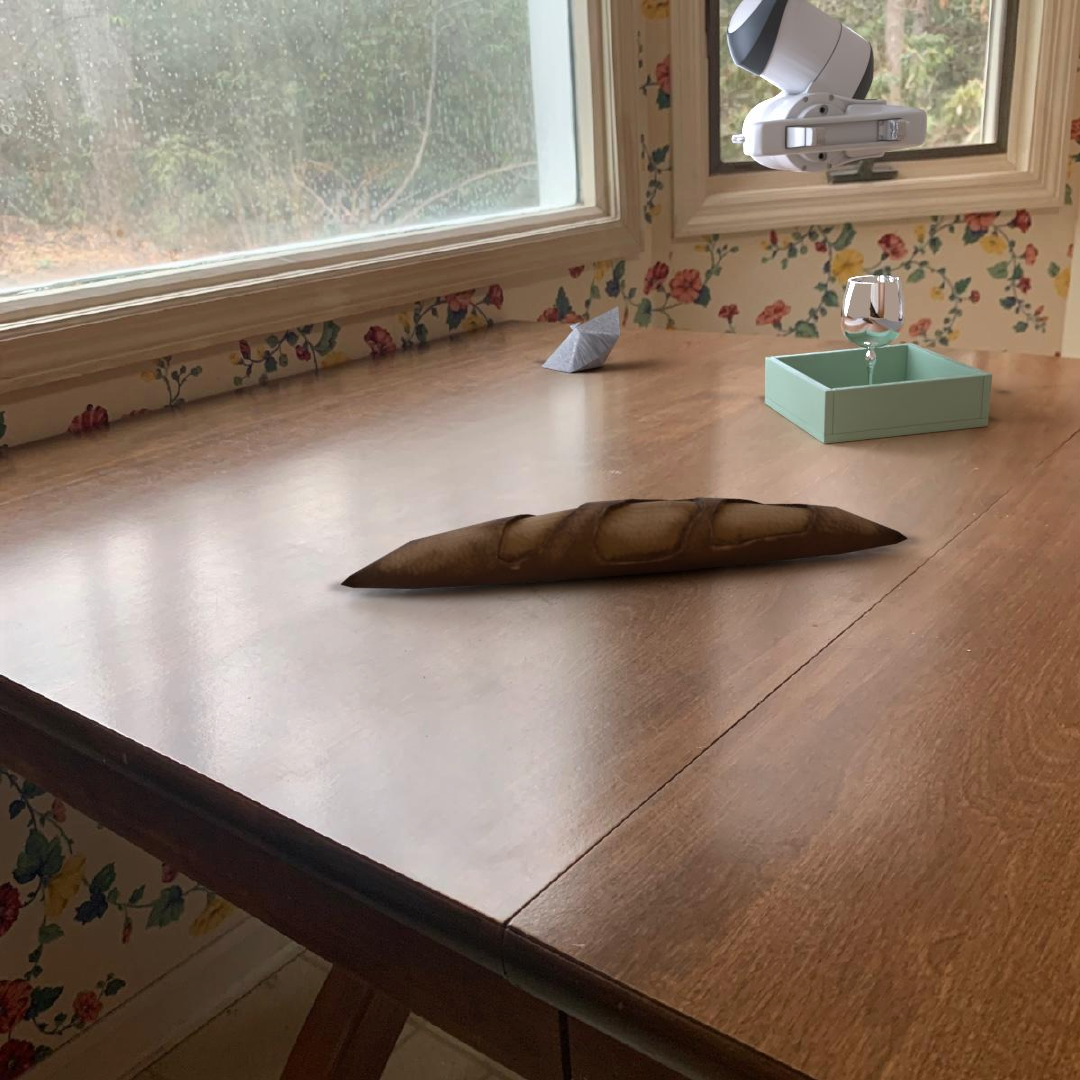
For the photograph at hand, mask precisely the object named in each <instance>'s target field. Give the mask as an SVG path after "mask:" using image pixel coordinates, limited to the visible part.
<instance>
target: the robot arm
mask: <svg viewBox="0 0 1080 1080" xmlns="http://www.w3.org/2000/svg"><path fill="white" fill-rule="evenodd" d="M726 39H727V46H728V49H729V50H728V51H729V53H730V56H731V59H732V60H733V63H734V65H735V66H737V67H739V68H741V69H743V70H745V71H747V72H749V73H751V74H753V75H755V76H757V77H761V78H763V79H764V80H766V81H767V82H769V83H770V84H772V85H773V86H775V87H777V88H778V89H780V90H781V91H780V92H779V93H778V94H777V95H775V96H774V97H772V98H769V99H767V100H766V99H765V100H764V101H762V102H760V103H758V104H757V105H756V106H754V107H753V108H752V109H751V110H750V111H749V112H748V114H747V115H746V117H745V119H744V122H743V126H742V133H741V134H736V135H735V134H734V135H732V137H731V141H732V143H733V144H743V153H744V154H745V155H746V156H750V158H752V159H753V160H754V161H755V162H757V163H758V164H760V165H762V166H764V167H767V168H769V169H774V170H779V171H790V172H791V171H792V172H796V173H807V174H808V173H809V174H819V173H822V172H826V171H828V170H830V169H834V168H837V167H840V166H843V165H846V164H849V163H854V162H859V161H865V160H873V159H875V158H881V157H884V156H885V153H889V152H893V151H899V150H904V149H910V148H915V147H919V146H921V145H923V144H924V143H925V142H926V137H927V130H928V116H927V115H928V114H927V112H926V110H925V109H923V108H919V107H913V106H905V105H895V104H888V102H887V100H886V99H877V98H867V95H868V94H869V92H870V89H871V87H872V84H873V81H874V71H875V58H874V50H873V47H872V44H871V42H869V41H868V40H866V39H865V38H864V37H863V36H861V35H859V33H857V32H855V31H854V30H852V29H851V28H850V27H848V26H846V25H845V24H844V23H842V22H841V21H838V20H836V19H835V18H833V17H832V16H831V15H829V14H827V13H826V12H824V11H823V10H822V9H820V8H819V7H817V6H816V5H814V4H813V3H812V2H810V1H809V0H742V1H741V2H740V4H739V5H738V6H737V8H736V9H735V11H734V13H733V14H732V17H731V19H730V21H729V23H728V26H727V28H726Z"/></svg>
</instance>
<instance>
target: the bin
mask: <svg viewBox="0 0 1080 1080" xmlns="http://www.w3.org/2000/svg"><path fill="white" fill-rule="evenodd" d="M867 352H868V349H867V348H863V347H856V348H846V349H836V350H826V351H824V350H823V351H815V352H805V353H795V354H786V355H774V356H766V357H765V358H764V359H765V361H764V370H765V371H764V404H765V405H766V406H768V407H769V408H771V409H772V410H774V411H775V412H776V413H778V414H779V415H781V416H782V417H784V418H785V419H787V420H788V421H790V422H791V423H793V424H794V425H796V426H797V427H798V428H799V429H801V430H803V431H804V432H806V433H807V434H808V435H810V436H811V437H813V438H814V439H816V440H817V441H819V442H820V443H822V444H824V445H827V444H834V443H835V444H836V443H846V442H855V441H863V440H865V441H866V440H873V439H882V438H883V439H884V438H892V437H900V436H910V435H918V434H919V435H920V434H929V433H938V432H947V431H948V432H949V431H956V430H965V429H966V430H967V429H975V428H984V427H985V428H986V427H989V421H990V419H989V418H990V409H991V394H992V383H993V373H990V372H988V371H984V370H982V369H979V368H978V367H975V366H972V365H969V364H967V363H964V362H962V361H959V360H956V359H954V358H951V357H948V356H946V355H943V354H941V353H938V352H936V351H933V350H931V349H928V348H925V347H923V346H920V345H918V344H915V343H912V342H908V343H896V344H890V345H889V344H887V345H884V346H882V347H878V348H875V349H874V352H875V354H876V362H875V365H874V369H873V374H872V385H867V367H866V363H865V357H866V353H867Z"/></svg>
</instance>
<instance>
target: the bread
mask: <svg viewBox="0 0 1080 1080" xmlns="http://www.w3.org/2000/svg"><path fill="white" fill-rule="evenodd" d="M907 540H909V538H908V536H906V535H904V534H903V533H901V532H900V531H898V530H896V529H894V528H891V527H889V526H885V525H883V524H881V523H878V522H876V521H873V520H870V519H868V518H866V517H863V516H861V515H858V514H855V513H853V512H850V511H847V510H845V509H842V508H840V507H837V506H832V505H831V506H830V505H820V504H819V505H818V504H809V503H762V502H758V501H755V500H751V499H744V498H730V497H729V498H728V497H701V496H699V497H698V496H697V497H693V498H683V499H672V500H670V499H663V498H662V499H661V498H655V499H653V498H624V499H612V500H599V501H588V502H584V503H582V504H580V505H579V506H577V507H575V508H570V509H565V510H559V511H555V512H549V513H544V514H539V515H536V514H531V513H522V514H516V515H511V516H505V517H501V518H495V519H491V520H487V521H483V522H480V523H479V522H478V523H475V524H471V525H467V526H464V527H459V528H455V529H452V530H448V531H444V532H440V533H436V534H433V535H432V534H431V535H427V536H424V537H419V538H416V539H412V540H409V541H407V542H406V543H405V544H402V545H400V546H399V547H397V548H396V549H394V550H392V551H390V552H388V553H386V554H385V555H383V556H381V557H380V558H378V559H376V560H374V561H372V562H371V563H369V564H367V565H366V566H364V567H362V568H361V569H359V570H357V571H356V572H353V573H351V574H350V575H349V576H348V577H346V578H345V580H343V581H342V582H341V583H340V585H341V586H343V587H347V588H352V589H379V590H381V589H382V590H383V589H384V590H386V589H387V590H397V589H398V590H421V589H422V590H423V589H441V588H456V587H457V588H459V587H474V586H475V587H476V586H493V585H495V586H496V585H506V584H507V585H508V584H509V585H510V584H523V583H538V582H555V581H568V580H582V579H595V578H607V577H618V576H620V577H621V576H631V575H645V574H656V573H668V572H680V571H690V570H701V569H710V568H711V569H712V568H723V567H732V566H742V565H743V566H745V565H754V564H763V563H772V562H781V561H790V560H791V561H792V560H800V559H809V558H810V559H811V558H819V557H828V556H838V555H843V554H850V553H853V552H859V551H866V550H872V549H877V548H881V547H882V548H883V547H887V546H892V545H897V544H900V543H902V542H904V541H907Z"/></svg>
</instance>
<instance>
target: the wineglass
mask: <svg viewBox="0 0 1080 1080" xmlns="http://www.w3.org/2000/svg"><path fill="white" fill-rule="evenodd" d="M902 283H903V282H902V279H901V277H899V276H893V275H863V276H862V275H861V276H855V277H850V278H849V279H848V280H847V283H846V286H845V289H844V294H843V297H842V302H841V306H840V307H841V308H840V327H841V331H842V334H843V335H844V337H845V338H846V339H847V341H848V342H850V343H852V344H853V345H856V346H858V347H859V348H867V349H868V352H867V353H866V357H865V363H866V367H867V385H872V374H873V369H874V365H875V362H876V354H875V352H874V349H875V348H878V347H882V346H886V345H889V344H891V343H892V342H894V341H895V340H897V338H898V337H899V336H900V334H901V333H902V331H903V328H904V324H905V319H906V303H905V296H904V289H903V288H904V287H903V284H902Z"/></svg>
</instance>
